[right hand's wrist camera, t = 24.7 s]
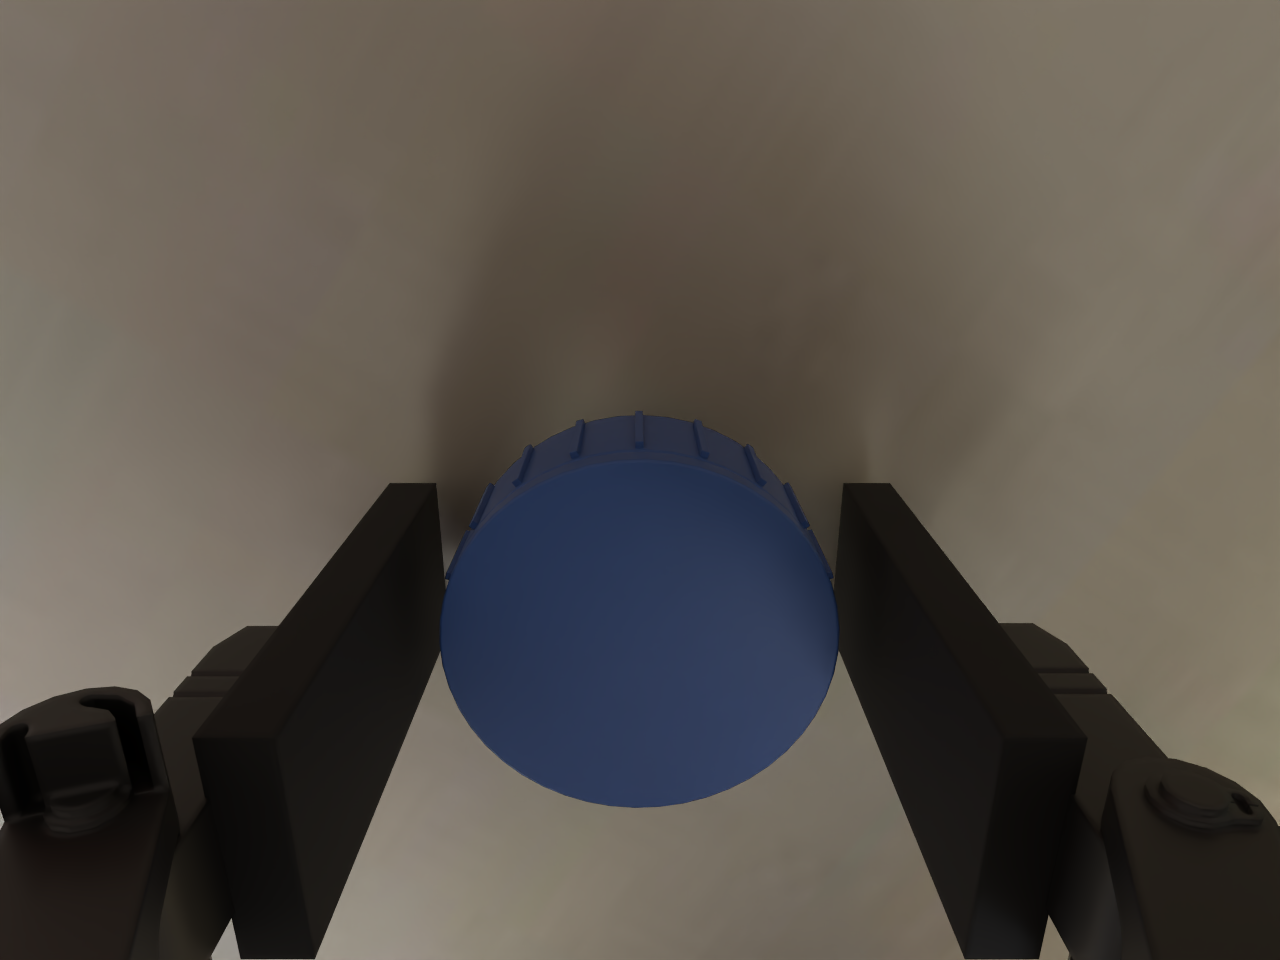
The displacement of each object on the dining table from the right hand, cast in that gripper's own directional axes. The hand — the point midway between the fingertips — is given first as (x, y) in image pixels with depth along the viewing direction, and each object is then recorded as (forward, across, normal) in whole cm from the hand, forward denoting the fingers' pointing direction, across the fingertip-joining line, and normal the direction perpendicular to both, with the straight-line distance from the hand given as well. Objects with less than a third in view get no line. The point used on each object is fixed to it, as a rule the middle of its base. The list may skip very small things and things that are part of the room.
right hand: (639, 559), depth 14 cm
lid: (-3, 0, 0) cm, 3 cm away
